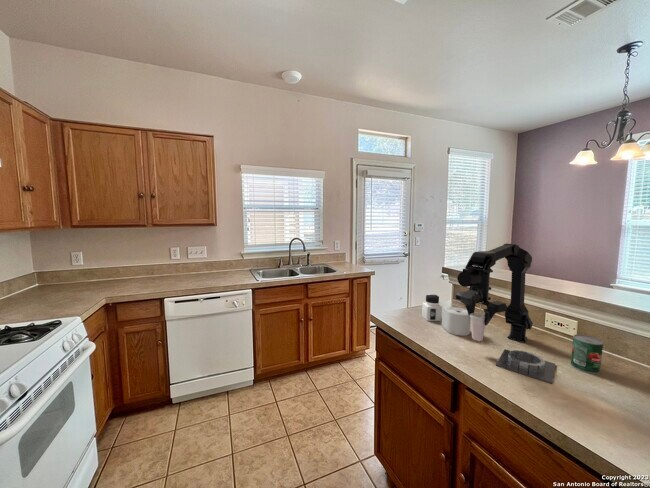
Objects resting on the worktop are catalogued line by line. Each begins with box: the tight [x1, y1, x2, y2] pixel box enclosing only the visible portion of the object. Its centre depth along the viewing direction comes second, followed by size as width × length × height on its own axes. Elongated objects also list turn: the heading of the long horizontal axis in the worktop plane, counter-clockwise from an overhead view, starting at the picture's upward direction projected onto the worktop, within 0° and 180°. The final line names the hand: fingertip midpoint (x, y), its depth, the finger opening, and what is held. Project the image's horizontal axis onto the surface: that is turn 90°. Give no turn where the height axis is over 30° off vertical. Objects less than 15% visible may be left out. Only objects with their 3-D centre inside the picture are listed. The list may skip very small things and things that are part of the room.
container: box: [421, 293, 443, 322], centre depth 146 cm, size 8×8×13 cm
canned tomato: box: [569, 334, 604, 375], centre depth 98 cm, size 8×8×11 cm
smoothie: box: [470, 304, 487, 342], centre depth 108 cm, size 6×6×14 cm
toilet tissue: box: [441, 306, 471, 336], centre depth 130 cm, size 11×12×10 cm
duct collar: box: [495, 348, 556, 385], centre depth 100 cm, size 16×16×3 cm
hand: (478, 321), depth 108 cm, fingers closed on smoothie, 6 cm apart
